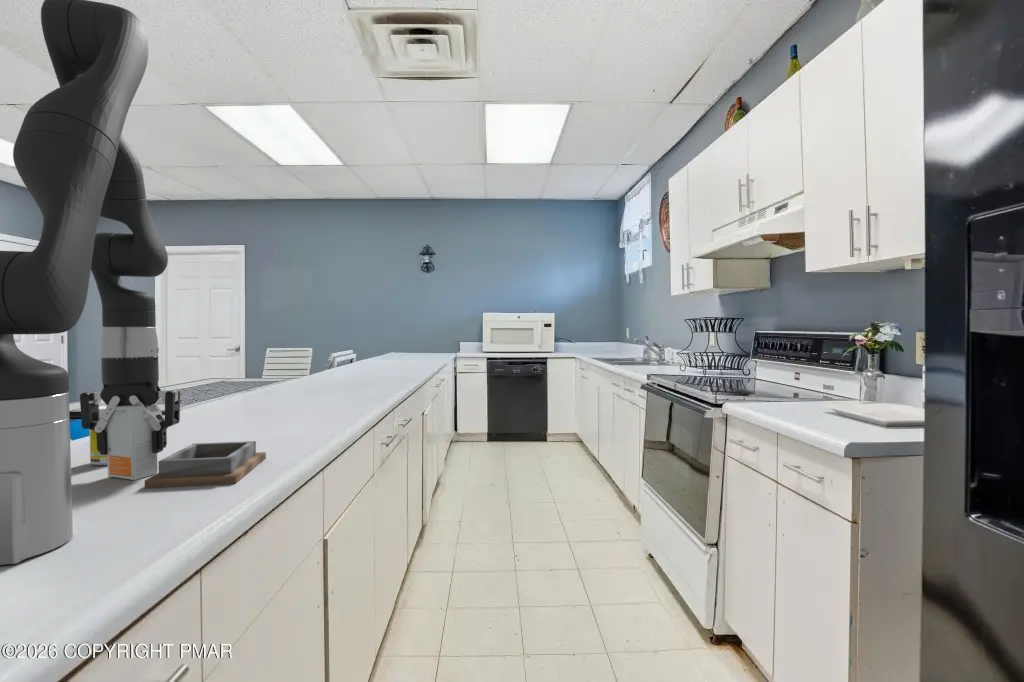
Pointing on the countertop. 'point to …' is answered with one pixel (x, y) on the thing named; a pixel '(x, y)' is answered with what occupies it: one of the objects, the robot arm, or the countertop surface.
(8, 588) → the countertop surface
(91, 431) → the supplement bottle
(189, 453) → the holder
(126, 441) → the skincare box
